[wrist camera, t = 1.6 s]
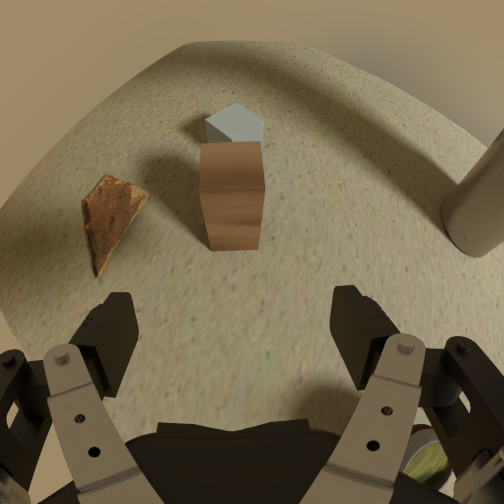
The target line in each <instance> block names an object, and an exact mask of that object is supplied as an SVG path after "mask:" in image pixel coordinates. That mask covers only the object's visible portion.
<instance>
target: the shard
mask: <svg viewBox="0 0 504 504" xmlns="http://www.w3.org/2000/svg"><path fill="white" fill-rule="evenodd" d="M149 196H150V193H148V192H147V191H145V190H143V189H141V188H139V187H138V186H136V185H133V184H131V183H128V182H124V181H122V180H119V179H117V178H115V177H113V176H111V175H107V176H105V177H104V178H103V180H102V181H101V182H100V184H99V185H98V186H97V188H96V189H95V190H94V191H93V192H92V193H91V194H90V196H88V198H87V199H85V200H83V201H82V204H83V214H84V217H85V221H84V222H85V227H86V236H87V241H88V246H89V250H90V254H91V256H92V260H93V270H94V273H95V278H97V277H99V276H101V277H102V276H103V274H104V271H105V269H106V267H107V266H108V264H109V262H110V259H111V257H112V255H113V252H114V250H115V249H116V247H117V245H118V244H119V241H120V240H121V238H122V236H123V235H124V233H125V231H126V229H127V228H128V227H129V225H130V223H131V222H132V220H133V219H134V218H135V216H136V215H137V214H138V213H139V211H140V209H141V208H142V207H143V205H144V204H145V203H146V202H147V199H148V198H149Z"/></svg>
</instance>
